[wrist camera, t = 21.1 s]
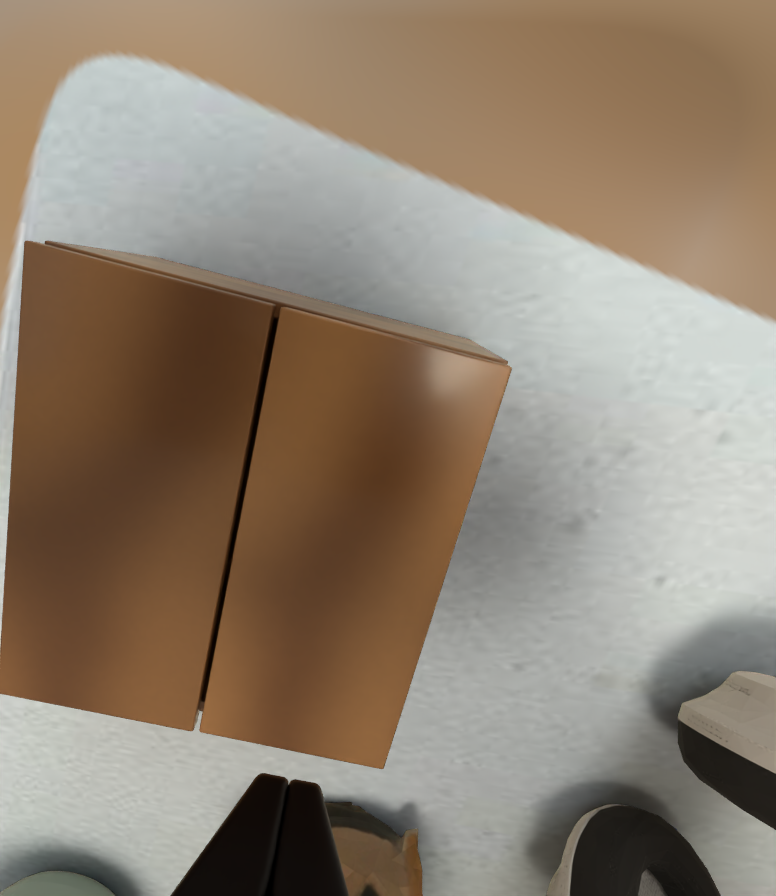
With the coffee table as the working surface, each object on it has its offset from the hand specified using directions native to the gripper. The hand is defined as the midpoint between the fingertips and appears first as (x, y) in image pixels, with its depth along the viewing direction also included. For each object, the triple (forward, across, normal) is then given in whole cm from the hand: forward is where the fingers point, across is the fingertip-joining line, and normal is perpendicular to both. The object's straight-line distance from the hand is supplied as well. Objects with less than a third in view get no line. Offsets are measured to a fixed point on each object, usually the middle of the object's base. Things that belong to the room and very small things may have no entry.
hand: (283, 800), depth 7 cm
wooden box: (+13, +2, 0) cm, 13 cm away
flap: (+7, 0, 0) cm, 7 cm away
